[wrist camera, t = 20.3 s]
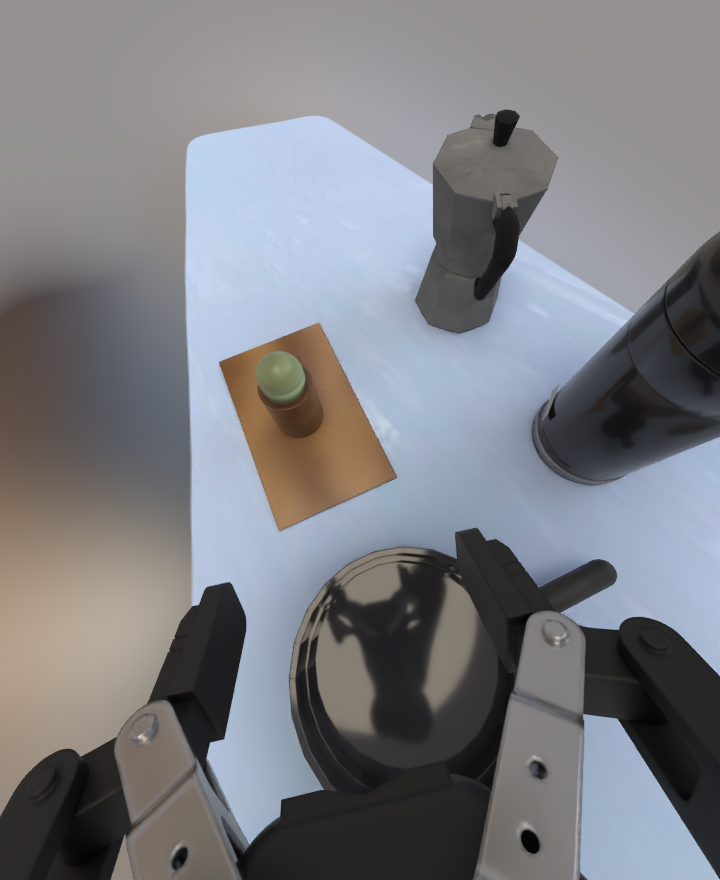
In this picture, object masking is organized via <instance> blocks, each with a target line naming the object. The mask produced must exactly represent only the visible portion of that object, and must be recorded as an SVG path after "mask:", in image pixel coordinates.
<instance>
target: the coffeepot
mask: <svg viewBox="0 0 720 880" xmlns="http://www.w3.org/2000/svg"><path fill="white" fill-rule="evenodd" d="M519 117H520V116H519V115H518V114H517V113H516V112H515V111H512V110H503V111H499V112H498V113H497V115H495V114H488V115H486V116H485V117H481V115H475V116H474V118H473V121H472V124H471V126H470V128H468V129H465V130H462V131H459V132H456V133H453V134H449V135H447V137H446V139H445V141H444V143H443V145H442V147H441V149H440V151H439V153H438V155H437V157H436V159H435V161H434V163H433V237H434V239H435V241H436V246H435V248H434V251H433V253H432V256H431V259H430V262H429V264H428V267H427V270H426V272H425V275H424V278H423V281H422V283H421V286H420V289H419V292H418V294H417V297H416V300H415V301H416V303H417V305H418V307H419V308H420V311H421V313H422V315H423V316H424V317H425V319H426V320H427V321H428V323H429V324H431V325H434V326H436V327H438V328H441V329H443V330H447V331H453V332H459V333H461V332H464V331H468V330H472V329H475V328H477V327H479V326H480V325H482V324H484V323H487V322H489V319H490V316H491V314H492V311H493V308H494V305H495V303H496V300H497V296H498V291H499V286H500V281H501V276H502V275H503V273H504V272H505V271H506V270H507V269H508V267H509V266H510V264H511V263H512V261H513V259H514V257H515V254H516V251H517V245H518V238H519V235H520V233H521V232H522V230H523V228H524V227H525V225H526V223H527V222H528V220H529V218H530V217H531V215H532V213H533V212H534V210H535V208H536V207H537V205H538V203H539V202H540V200H541V198H542V197H543V195H544V193H545V192H546V190H547V189H548V186H549V183H550V180H551V177H552V174H553V171H554V168H555V166H556V163H557V160H558V157H557V156H556V154H555V153H554V152H553V151H551V150H550V148H549V147H548V146H547V145H546V144H545V143H544V142H543V141H542V140H541V139H540V138H539V137H538V136H537V135H536V134H535V133H534V132H533V131H531V130H526V129H521V128H516V127H515V126H516V124H517V121H518V119H519Z"/></svg>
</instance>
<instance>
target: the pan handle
mask: <svg viewBox="0 0 720 880" xmlns="http://www.w3.org/2000/svg"><path fill="white" fill-rule="evenodd" d="M616 579H617V572H616V570H615V568H614V567H613V566H612V565H611V564H610V563H609V562H607V561H605V560H601V559H596V560H592V561H590V562H588V563H586V564H584V565H582V566H580V567H578V568H577V569H575V570H573V571H571V572H569V573H567V574H565V575H563V576H561V577H559V578H557V579H555V580H553V581H551V582H549V583H547V584H545V585H544V586H542V587H540V588H539V589H540V590H541V592H542V593H543V594H544V596H545V597H546V599H547V600H548V601H549V603H550V604H551V605H552V607H553V608H554V609H555V610H556V611H557V612H558V613H560V612H562V611H564V610H566V609H568V608H570V607H572V606H574V605H575V604H577V603H579V602H581V601H583V600H585V599H587V598H589V597H591V596H593V595H594V594H596V593H598V592H600V591H602V590H604V589H606V588H608V587H610V586H611V585H613V584H614V583H615V582H616Z"/></svg>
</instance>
